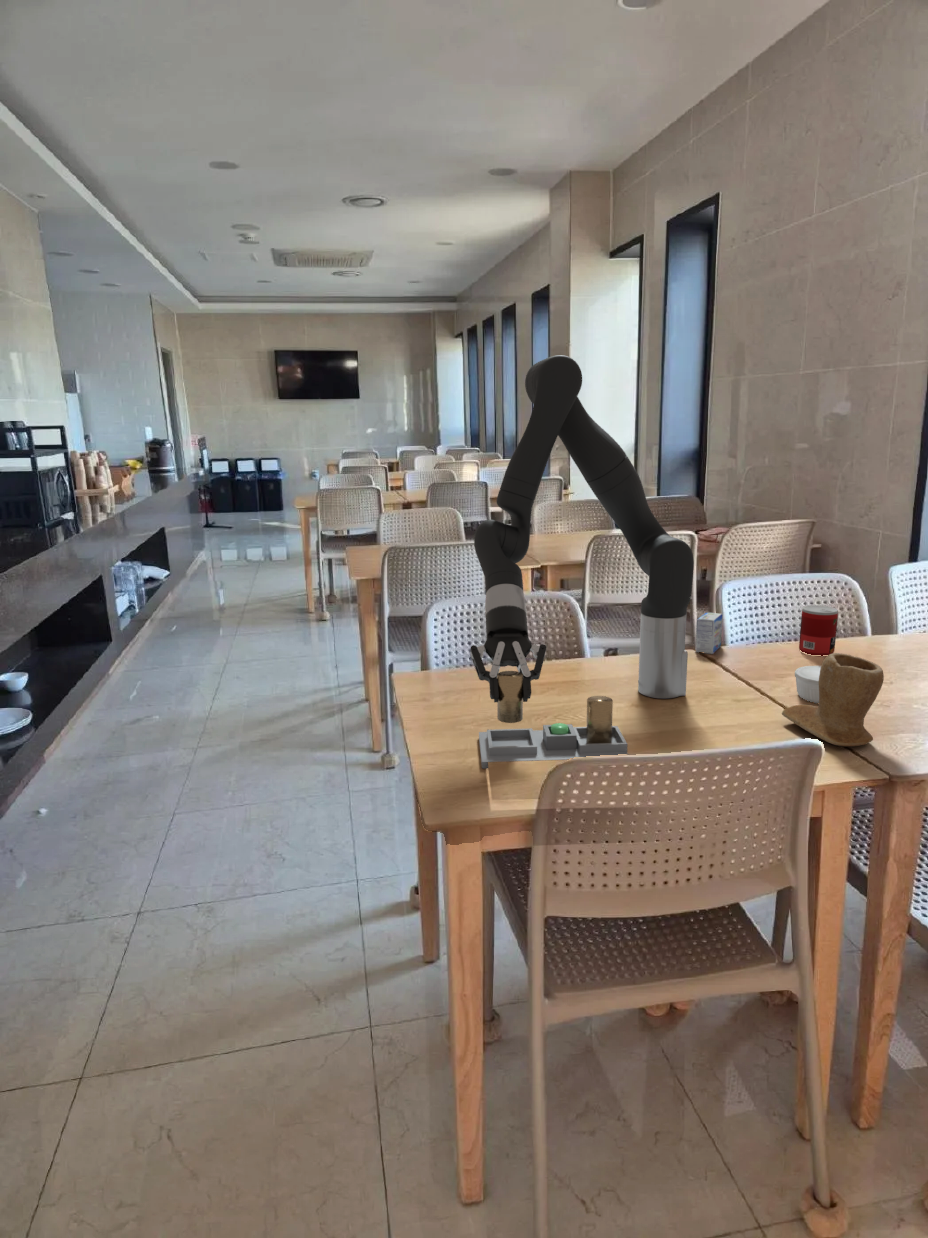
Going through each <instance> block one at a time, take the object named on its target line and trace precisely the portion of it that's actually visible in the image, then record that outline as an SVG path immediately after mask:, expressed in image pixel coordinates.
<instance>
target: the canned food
mask: <svg viewBox="0 0 928 1238" xmlns="http://www.w3.org/2000/svg"><path fill="white" fill-rule="evenodd" d="M800 618H801V619H800V628H799V629H800V630H799V642H798V643H799V644H798V649H799V651H800V650H801V651H802V652H805V653H807V654H811V655H821V656H823V655H830V654H832V653H835V648H836V647H835V646H836V639H837V629H838V620H839V619H838V618H839V609H838V608H836V607H833V606H828V605H820V604H819V605H816V604H815V605H814V604H813V605H812V604H810V605H806V606H803V607H802V609H801V617H800ZM811 655H810V656H811ZM821 656H820V657H821ZM823 657H824V656H823Z"/></svg>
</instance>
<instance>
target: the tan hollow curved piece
mask: <svg viewBox="0 0 928 1238" xmlns="http://www.w3.org/2000/svg"><path fill="white" fill-rule="evenodd" d="M820 666H821V669H820V675H819V704H818V706H815V705H811V704H797V705H796V704H795V705H792V706H789V707H786V708H785V709H783V710H782V712H781V715H782V716H783V717H784V718H786V719H787V720H789V721H790V722H792V723H793V724H795V725H797V726H798V727H800V728H802V729H803V730H805V731H806V732H808V733H809V734H811V735H814V736H815V737H817V738H818V739H821V740H823V741H824V742H826V743H829V744H832V745H834V746H839V747H858V746H859V747H860V746H864V745H867V744H869V743H872V742H873V740H874V737H873V735H871V733H870V732H869V731H868V730H867V728H865V726H864V723H865V718H866V716H867V714H868V712H869V710H870V708H872V706H873V704H874V703H875V701H876V699H877V697H878V695H879V694H880V691H881V689H882V687H883V683H884V677H885V676H884V670H883V668H882V667H881V666H880V665H879V664H877V663H876V662H873V661H870V660H867V659H865V658H861V657H859V656H854V655H851V654H847V653H840V652H834V653H832V654H830V655H828V656H825V657H824V659H823V661H822V663H821V665H820Z"/></svg>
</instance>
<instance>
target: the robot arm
mask: <svg viewBox="0 0 928 1238" xmlns="http://www.w3.org/2000/svg"><path fill="white" fill-rule="evenodd" d="M582 386H583V373H582V369H581V368H580V366H579V364H578V363H577V361H576V360H574V358H572V357H570V356H568V355H564V354H563V355H561V354H560V355H559V354H558V355H552V356H548V357H546V358H544V359H542V360H539V361H538V362H536V363H534V364H533V365H532V366H530V368H529V369H528V370H527V373H526V375H525V380H524V387H525V391H526V394H527V397H528V399H529V401H530V402H531V404H532V406H533V407H532V411H531V414H530V417H529V420H528V423H527V426H526V428H525V431H524V433H523V434H522V437H521V439H520V440H519V442H518V444H517V446H516V448H515V450H514V452H513V453H512V455H511V457H510V459H509V462H508V464H507V467H506V469H505V473H504V475H503V478H502V481H501V485H500V488H499V491H498V494H497V497H496V505H497V507H499V508H500V509H501V510H503V511H505V512H506V513H508V515H509V516H510V523H511V524H507V523H504V522H502V521H498V520H495V519H486V520H483V521H482V522H481V523H480V524H479V525H478V527H476V530H475V533H474V538H473V545H474V550H475V553H476V557H477V559H478V562H479V565H480V568H481V571H482V573H483V575H484V581H485V582H484V584H485V601H484V616H485V617H484V618H485V635H486V636H485V638H486V639H485V641H484V644H483V645H480V646H479V645H478V646H477V645H475V644H474V645H471V646H470V655H469V656H470V658H471V660H472V663H473V666H474V668H475V669H474V670H475V671H476V674H477V677H478V679H479V680H480V681H483V682H484V681H486V682H488V683H489V685H488V686H489V698H490V699H491V700H493V703H497V702H498V700H499V693H498V679H497V674H498V673H500V669H501V667H502V668H503V667H504V668H505V667H508V666H510V667H516V669H517V672H520V673H522V674H523V703H525V702H526V703H528V700H529V699H531V697H532V683H531V682H532V681H534V680H537V681H538V680H539V679H540V676H541V672H542V669H543V665H544V664H543V663H544V660H545V656H546V651H547V645H546V644H544V643H542V644H540V645H537V644H532V641H531V640H530V638H529V628H528V627H529V626H528V615H527V604H526V603H527V602H526V598H525V594H524V583H523V582H524V581H523V580H524V578H523V572H522V569H521V567H520V566H519V565H518V564H517V563H520V562H521V561H522V560H523V559H524V557H525V556H526V555H527V553H528V550H529V547H530V537H531V523H532V511H533V507H534V506H533V505H534V503H535V500H536V498H537V497H536V496H537V494H538V491H539V488H540V485H541V481H542V479H543V476H544V472H545V469H546V467H547V464H548V461H549V458H550V455H551V453H552V451H553V448H554V446H555V443H556V441H557V439H558V437H559V438H560V441H561V442H562V444H563V445H564V448H565V449H566V451H567V452H568V454H569V456H570V457H571V459H572V460H573V462H574V464H575V466H576V467H577V468H578V470H579V472H580V473H581V475H582V477H583V478H584V480H585V482H586V484H587V485H588V487H589V488H590V489H591V491H592V493H593V494H594V496H595V497H596V498H597V500H598V501H599V502H600V504H601V505H602V507H603V509H604V510H605V511H606V512H607V514H608V516H610V518H611V519H612V521H613V522H614V523H615V525H617V527H618V528H619V530H620V531H621V533H622V535H623V537H624V538H625V540H626V542H627V544H628V546H629V548H630V550H631V552H632V555H633V556H634V558H635V560H636V562H637V564H638V566H639V568H640V569H641V571H642V572H643V573H645V574H646V575H647V576H648V587H647V588H648V589H647V595H646V596H645V597H644V598H642V600H641V602H640V624H639V626H640V628H639V629H640V630H639V652H638V653H639V654H638V655H639V656H638V680H637V683H638V684H637V685H638V686H637V687H638V689H637V690H638V691H637V692H639V693H640V694H641V695H643V696H645V697H648V698H654V699H675V698H678V697H681V696H686V695H687V678H688V677H687V675H688V655H689V653H688V650H687V649H686V636H687V635H686V633H687V631H686V630H687V615H688V614H687V613H688V611H687V610H688V605H690V601H691V598H692V594H693V593H692V591H693V581H694V570H695V569H694V566H695V560H694V553H693V550H692V548H691V546H690V545H689V544H688V543H687V542H686V541H684V540H681V539H680V538H678V537H677V538H676V537H674V536H671V534H669V533H668V532H667V531H666V530H665V529H664V527H663V526H662V525H661V524H660V522H659V520H658V519H657V518H656V517H655V515H654V513H653V512H652V510H651V508H650V506H649V503H648V501H647V500H648V499H647V497H646V493H645V489H644V487H643V483H642V481H641V478H640V475H639V474H638V472H637V469H636V468H635V466H634V465H633V463H632V462H631V461H632V460H630V458H629V456H628V455H627V453H626V452H625V451H624V449H623V448H622V447H621V446H620V444H619V443H618V442H617V441H616V440H615V438H613V437H612V436H611V435H610V433H608V432H607V431H606V430H605V429H604V428H603V427H601V426H600V425H599V424H598V423H597V422H596V421H595V420H594V419H593V418H592V417H591V415H590V414H589V413H588V411H587V410H586V408H585V407H584V406H583V403H582V402H581V400H580V398H579V397H578V396H579V394H580V392H581V388H582ZM530 652H532V653H533V654H532V655H533V658H534V659H536V661H535V664H534V668H533V669H531V670H530V669H529V666H528V662H527V660H526V658H527V656H528V655H529V654H530ZM484 653H486V655H487V656H488V657H489V658H490V659H491V660H492V664H491V668H490V670H489V671H488V670H486V667H485V664H484V662H483V658H484Z"/></svg>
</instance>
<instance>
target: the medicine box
mask: <svg viewBox="0 0 928 1238" xmlns="http://www.w3.org/2000/svg"><path fill="white" fill-rule="evenodd" d="M695 623H696V625H695V627H696V628H695V649H694V650H696V651H695V653H699V652H704V653H703V654H706V655H707V654H709V655H713V654H715V653H716V651H718V649H720V647H722V631H723V630H722V629H723V613H720V612H719V613H718V612H717V613H715V612H704V614H702V615H701V616H700V617H698V618H697V619H696V622H695Z"/></svg>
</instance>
